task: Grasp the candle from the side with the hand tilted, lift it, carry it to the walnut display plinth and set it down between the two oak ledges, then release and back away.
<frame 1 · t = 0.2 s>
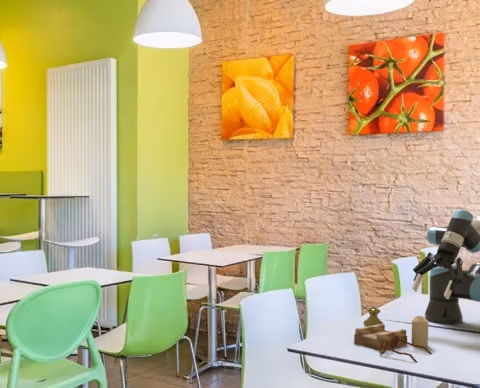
hand: (429, 293, 217), 16 cm above the table, tool tilted 35°, fingers open, 13 cm apart
brass knob: (373, 334, 218), on the table
glasses: (405, 356, 190), on the table
display plinth: (380, 343, 204), on the table
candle: (419, 345, 202), on the table
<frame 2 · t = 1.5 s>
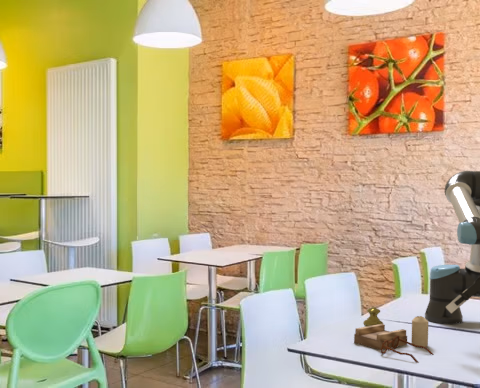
hand: (451, 306, 197), 15 cm above the table, tool tilted 45°, fingers open, 13 cm apart
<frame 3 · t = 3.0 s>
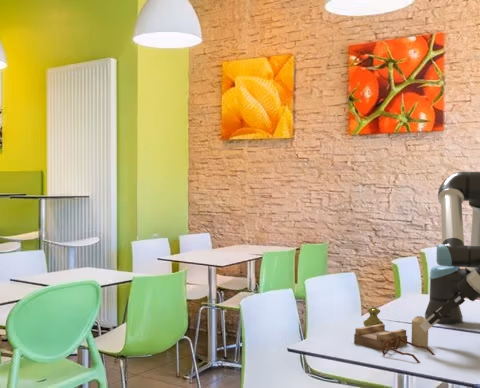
hand: (426, 325, 200), 8 cm above the table, tool tilted 45°, fingers open, 13 cm apart
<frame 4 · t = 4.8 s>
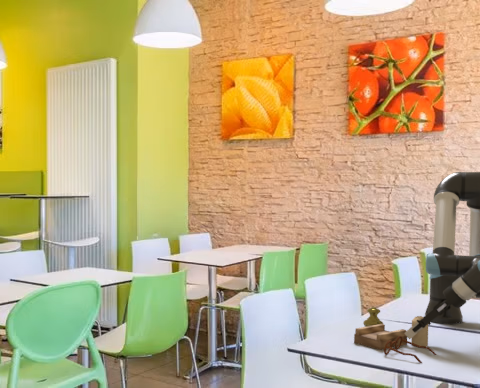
hand: (409, 334, 204), 3 cm above the table, tool tilted 45°, fingers closed on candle, 5 cm apart
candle: (419, 345, 202), on the table, touching gripper
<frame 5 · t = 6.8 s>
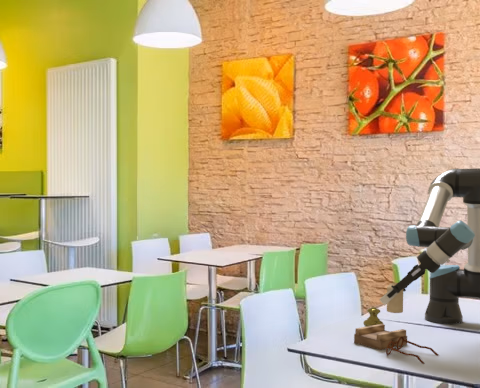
hand: (384, 300, 204), 15 cm above the table, tool tilted 45°, fingers closed on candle, 5 cm apart
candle: (394, 312, 202), point 11 cm above the table, touching gripper
when the fingers open (8 cm above the table, at t = 8.7 s): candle drops 1 cm, resting on display plinth.
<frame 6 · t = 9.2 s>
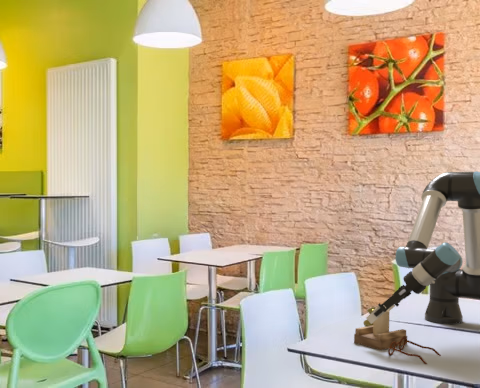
hand: (374, 317, 205), 9 cm above the table, tool tilted 45°, fingers open, 12 cm apart
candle: (381, 335, 204), point 3 cm above the table, touching display plinth
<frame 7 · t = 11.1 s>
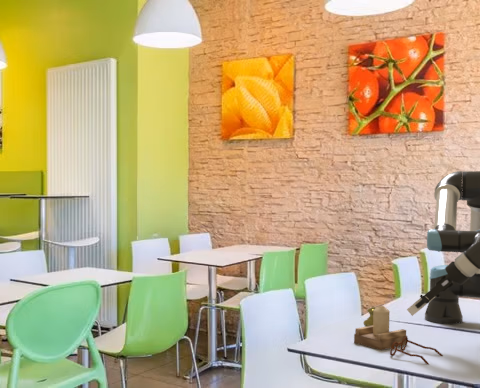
hand: (414, 308, 198), 13 cm above the table, tool tilted 45°, fingers open, 13 cm apart
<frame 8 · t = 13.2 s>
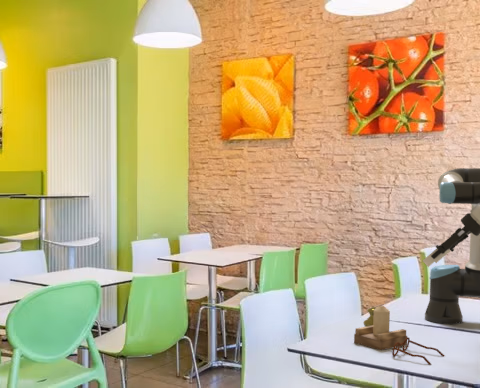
hand: (429, 262, 199), 30 cm above the table, tool tilted 45°, fingers open, 13 cm apart
at the end: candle inside the target area on the display plinth (0.1 cm from its centre), point 2.8 cm above the display plinth's base; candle tilted 0°; the gripper is holding nothing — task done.
